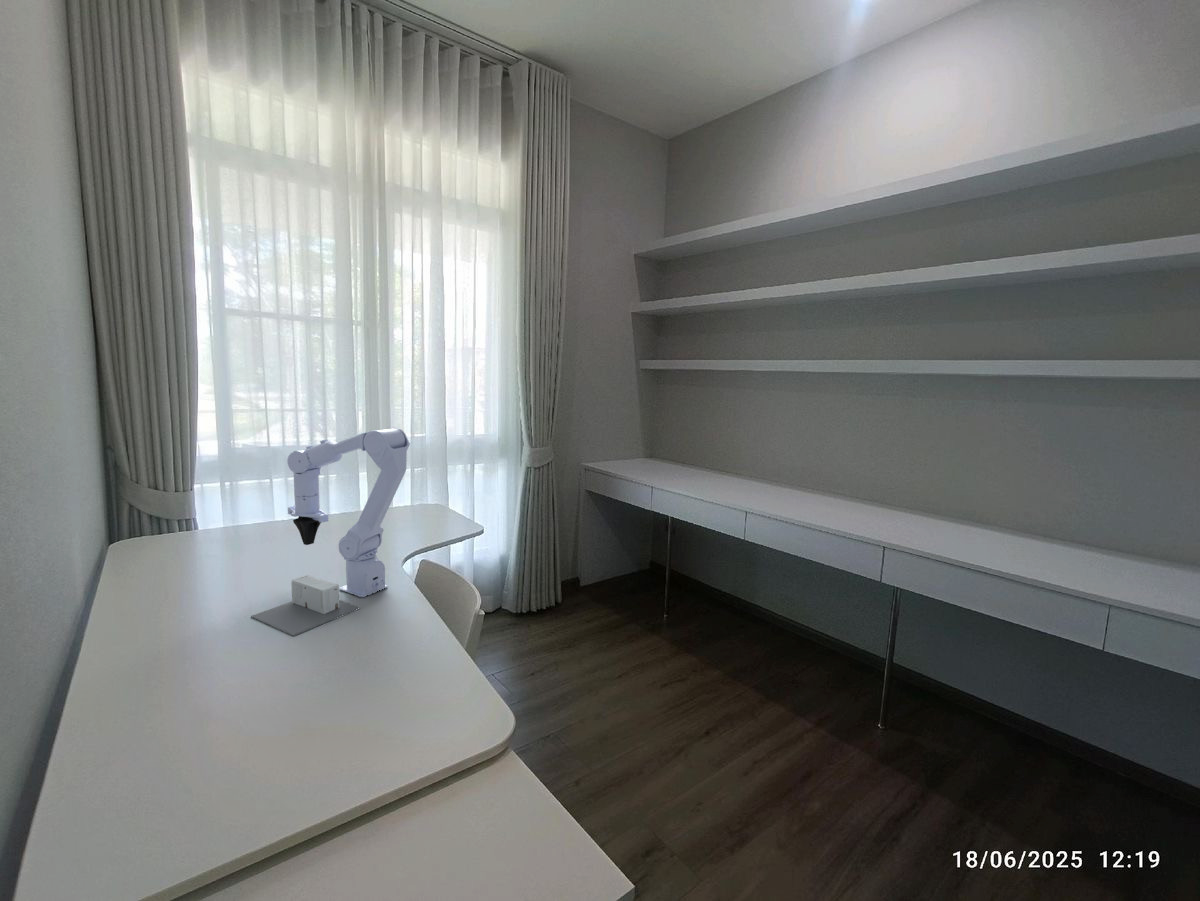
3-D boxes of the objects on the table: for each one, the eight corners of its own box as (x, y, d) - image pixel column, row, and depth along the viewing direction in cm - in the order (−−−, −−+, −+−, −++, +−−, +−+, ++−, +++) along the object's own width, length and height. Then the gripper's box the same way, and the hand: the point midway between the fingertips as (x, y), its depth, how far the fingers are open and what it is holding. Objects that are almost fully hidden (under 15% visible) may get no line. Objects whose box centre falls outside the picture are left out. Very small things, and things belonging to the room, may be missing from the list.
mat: (359, 608, 123) (359, 607, 123) (293, 636, 109) (293, 635, 109) (317, 593, 131) (317, 592, 131) (251, 617, 117) (251, 615, 117)
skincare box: (290, 580, 123) (321, 590, 118) (308, 574, 127) (339, 583, 122) (292, 604, 124) (322, 615, 119) (309, 597, 128) (340, 608, 123)
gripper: (275, 493, 135) (277, 542, 137) (309, 501, 128) (311, 553, 130) (301, 488, 141) (303, 536, 143) (335, 496, 135) (336, 545, 137)
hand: (308, 543), depth 137 cm, fingers closed
